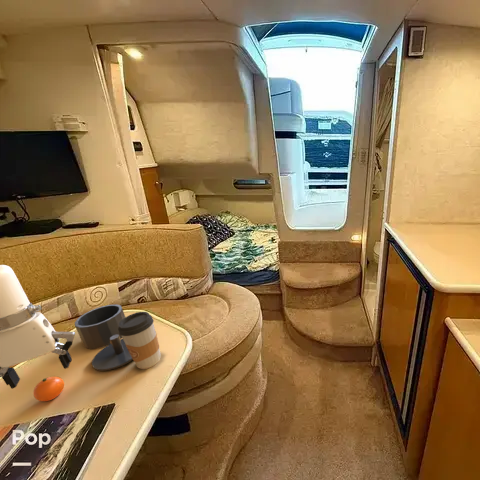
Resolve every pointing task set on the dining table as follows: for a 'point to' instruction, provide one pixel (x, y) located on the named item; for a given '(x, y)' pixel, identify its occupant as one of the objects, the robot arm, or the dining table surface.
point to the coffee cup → (140, 339)
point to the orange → (48, 388)
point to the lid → (112, 355)
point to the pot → (99, 325)
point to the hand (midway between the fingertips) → (42, 374)
